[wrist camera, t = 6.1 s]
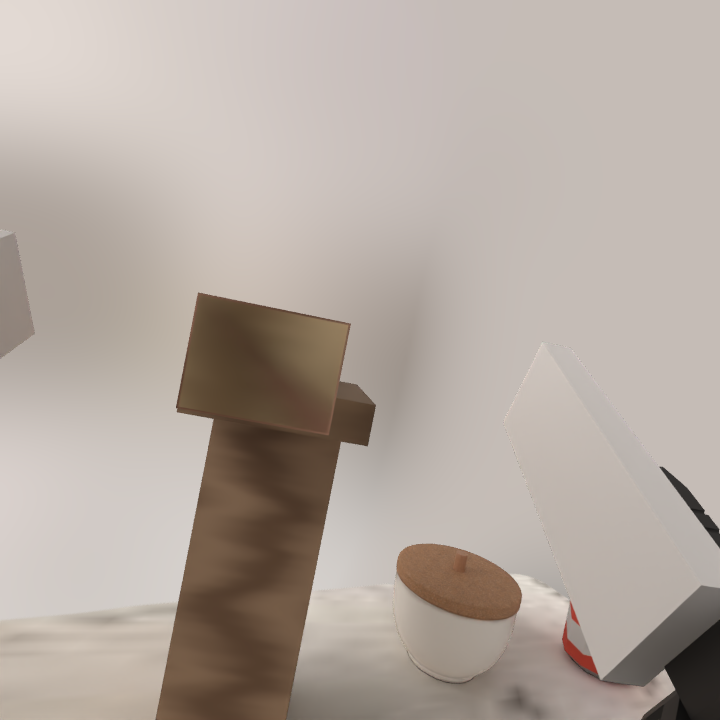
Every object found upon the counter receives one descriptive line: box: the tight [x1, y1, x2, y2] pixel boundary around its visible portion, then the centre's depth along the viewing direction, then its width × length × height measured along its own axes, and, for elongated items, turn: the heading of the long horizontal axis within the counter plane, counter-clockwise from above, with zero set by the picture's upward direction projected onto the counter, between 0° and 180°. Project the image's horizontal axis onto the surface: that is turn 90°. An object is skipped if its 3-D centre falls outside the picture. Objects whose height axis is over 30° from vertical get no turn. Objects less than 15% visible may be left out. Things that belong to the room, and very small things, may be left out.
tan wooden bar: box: [176, 293, 351, 435], centre depth 24 cm, size 4×24×3 cm, turn 5°
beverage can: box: [562, 601, 600, 679], centre depth 43 cm, size 6×6×12 cm
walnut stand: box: [156, 381, 376, 720], centre depth 27 cm, size 9×11×22 cm
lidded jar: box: [393, 544, 522, 683], centre depth 39 cm, size 11×11×9 cm
